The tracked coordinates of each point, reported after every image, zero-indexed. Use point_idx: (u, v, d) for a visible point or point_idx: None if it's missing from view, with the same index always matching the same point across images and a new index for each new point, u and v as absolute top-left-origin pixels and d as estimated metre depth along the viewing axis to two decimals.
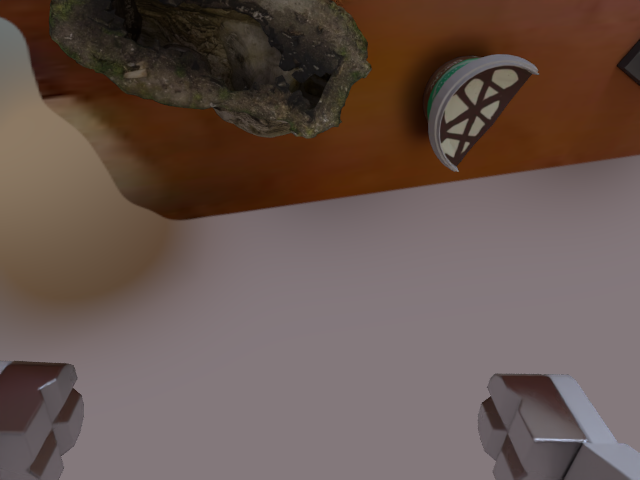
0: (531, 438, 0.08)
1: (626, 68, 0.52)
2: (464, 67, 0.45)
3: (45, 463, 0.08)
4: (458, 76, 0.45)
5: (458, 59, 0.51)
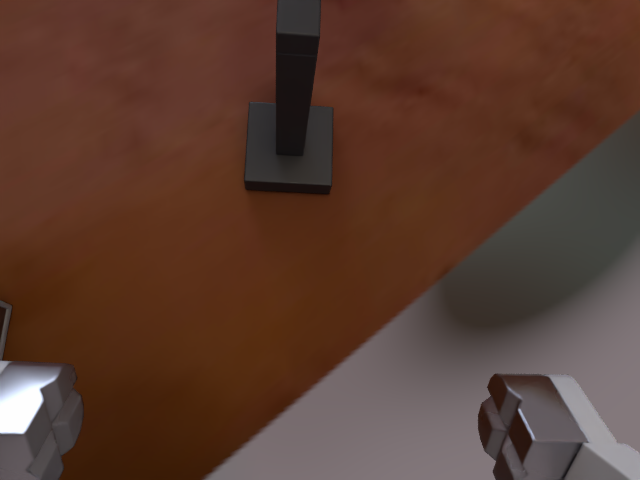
0: (531, 438, 0.08)
1: (248, 179, 0.27)
2: None
3: (45, 463, 0.08)
4: None
5: None
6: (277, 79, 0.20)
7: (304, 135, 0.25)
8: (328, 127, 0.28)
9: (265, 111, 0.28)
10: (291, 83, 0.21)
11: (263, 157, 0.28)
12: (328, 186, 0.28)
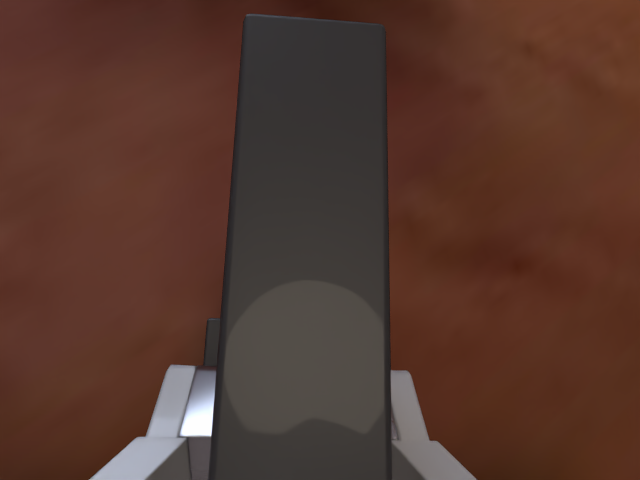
0: None
1: None
2: None
3: None
4: None
5: None
6: None
7: None
8: None
9: None
10: None
11: None
12: None
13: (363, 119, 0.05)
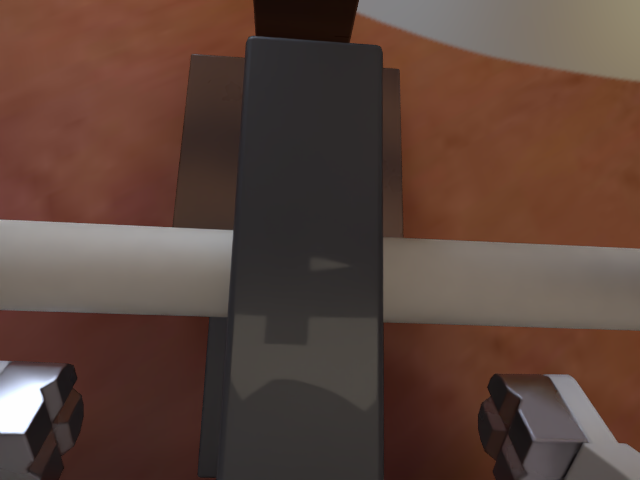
0: (531, 437, 0.08)
1: (204, 474, 0.14)
2: None
3: (45, 463, 0.08)
4: None
5: None
6: None
7: None
8: None
9: None
10: None
11: None
12: None
13: (360, 140, 0.05)
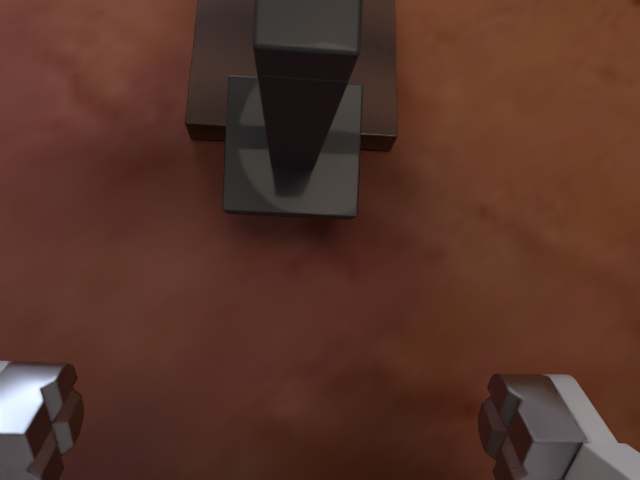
0: (531, 438, 0.08)
1: (227, 208, 0.18)
2: None
3: (45, 463, 0.08)
4: None
5: None
6: (264, 106, 0.10)
7: (316, 155, 0.15)
8: (354, 120, 0.18)
9: (254, 92, 0.18)
10: (293, 111, 0.10)
11: (251, 171, 0.18)
12: (352, 217, 0.18)
13: None
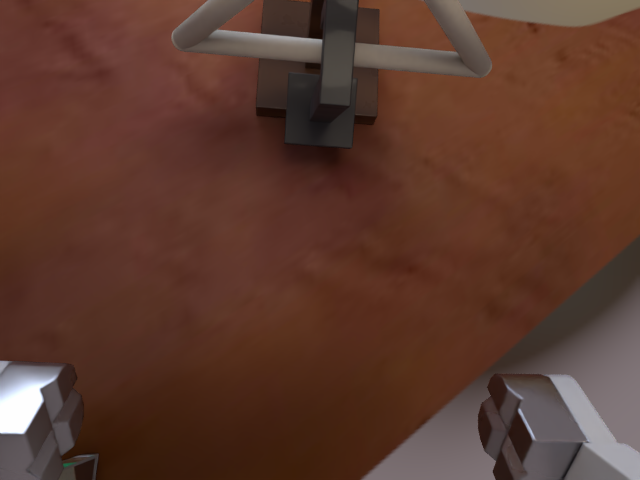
0: (531, 438, 0.08)
1: (287, 142, 0.35)
2: None
3: (45, 463, 0.08)
4: None
5: None
6: (316, 110, 0.27)
7: (333, 119, 0.32)
8: (352, 97, 0.35)
9: (301, 81, 0.34)
10: (326, 111, 0.28)
11: (299, 123, 0.35)
12: (349, 148, 0.36)
13: (352, 15, 0.24)
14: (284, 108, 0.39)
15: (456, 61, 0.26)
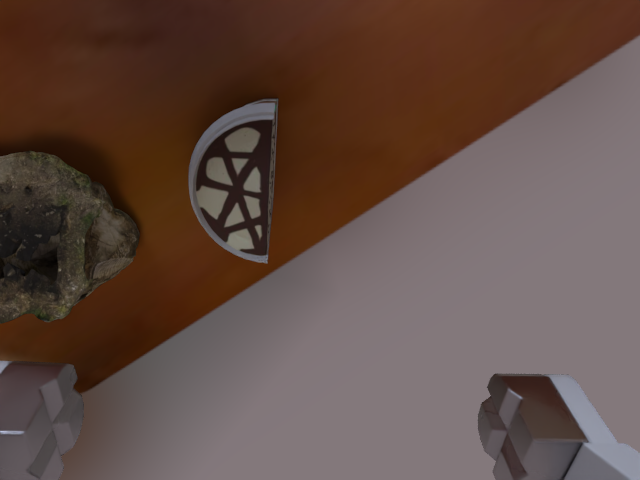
0: (531, 438, 0.08)
1: None
2: (194, 150, 0.34)
3: (45, 463, 0.08)
4: (190, 165, 0.34)
5: None
6: None
7: None
8: None
9: None
10: None
11: None
12: None
13: None
14: None
15: None
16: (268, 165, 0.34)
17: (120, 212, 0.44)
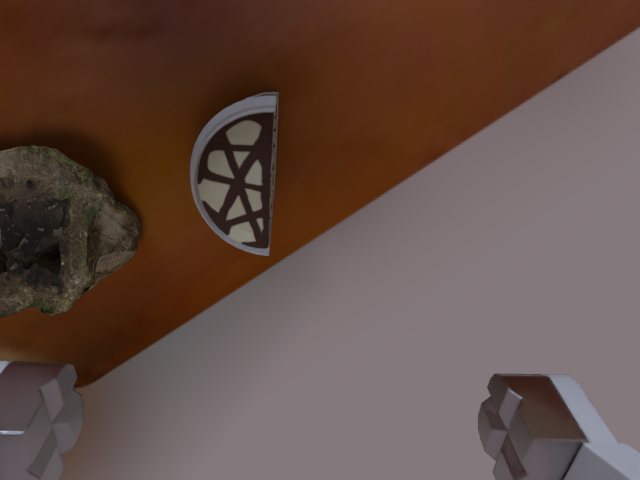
0: (531, 438, 0.08)
1: None
2: (195, 144, 0.34)
3: (45, 463, 0.08)
4: (192, 159, 0.34)
5: None
6: None
7: None
8: None
9: None
10: None
11: None
12: None
13: None
14: None
15: None
16: (269, 158, 0.34)
17: (122, 206, 0.44)
